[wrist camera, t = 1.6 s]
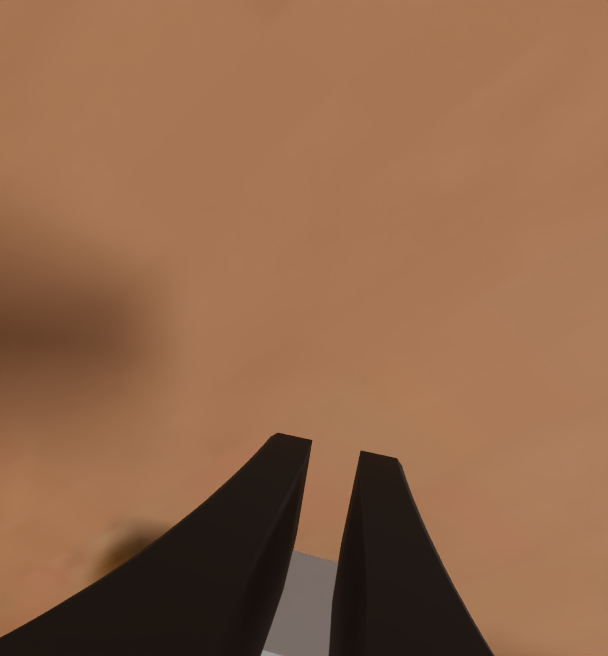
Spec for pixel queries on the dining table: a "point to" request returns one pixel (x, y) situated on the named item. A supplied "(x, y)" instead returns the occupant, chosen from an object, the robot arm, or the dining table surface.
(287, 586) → the block
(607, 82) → the dining table surface
